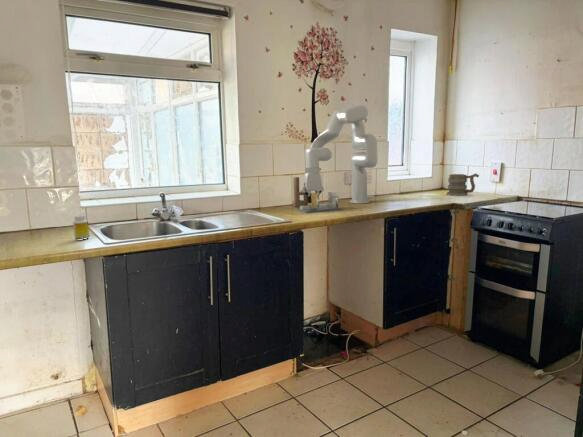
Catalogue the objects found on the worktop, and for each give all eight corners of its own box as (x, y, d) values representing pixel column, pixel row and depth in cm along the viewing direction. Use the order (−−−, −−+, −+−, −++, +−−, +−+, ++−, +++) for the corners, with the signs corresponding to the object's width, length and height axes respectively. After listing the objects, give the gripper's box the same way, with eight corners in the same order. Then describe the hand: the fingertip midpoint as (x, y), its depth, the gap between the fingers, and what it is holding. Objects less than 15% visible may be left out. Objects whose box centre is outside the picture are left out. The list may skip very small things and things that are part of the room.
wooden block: (311, 206, 269) (310, 176, 266) (295, 207, 265) (294, 177, 261) (308, 205, 272) (308, 176, 269) (292, 206, 268) (292, 177, 265)
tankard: (445, 195, 303) (445, 173, 300) (450, 193, 313) (450, 172, 310) (475, 196, 291) (476, 174, 289) (479, 194, 302) (481, 172, 299)
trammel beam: (332, 205, 259) (331, 191, 257) (339, 207, 250) (339, 193, 249) (299, 208, 250) (299, 194, 249) (306, 210, 242) (305, 195, 241)
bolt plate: (330, 207, 262) (330, 204, 262) (341, 209, 250) (341, 207, 250) (297, 210, 253) (297, 207, 253) (306, 213, 242) (306, 210, 241)
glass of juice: (91, 239, 187) (89, 215, 186) (78, 241, 183) (75, 217, 182) (86, 237, 191) (83, 214, 189) (72, 239, 187) (70, 216, 186)
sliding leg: (314, 206, 254) (314, 192, 253) (321, 208, 246) (321, 193, 244) (308, 207, 252) (308, 192, 251) (315, 209, 244) (315, 194, 243)
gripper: (322, 169, 254) (322, 201, 257) (296, 171, 248) (296, 203, 251) (328, 170, 248) (329, 202, 251) (301, 171, 241) (302, 204, 244)
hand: (313, 202), depth 251 cm, fingers closed on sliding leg, 4 cm apart
